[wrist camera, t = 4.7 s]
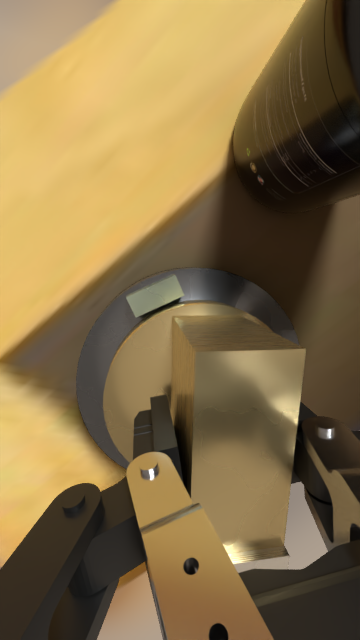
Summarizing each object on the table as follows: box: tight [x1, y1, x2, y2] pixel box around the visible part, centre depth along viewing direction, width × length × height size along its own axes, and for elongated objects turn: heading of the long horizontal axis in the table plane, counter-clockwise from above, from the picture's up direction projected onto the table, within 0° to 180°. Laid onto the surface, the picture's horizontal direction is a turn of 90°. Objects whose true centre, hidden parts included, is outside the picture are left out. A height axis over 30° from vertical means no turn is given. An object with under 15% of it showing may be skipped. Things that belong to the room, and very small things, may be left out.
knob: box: [103, 300, 306, 573], centre depth 11 cm, size 9×9×7 cm
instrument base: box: [76, 267, 299, 469], centre depth 15 cm, size 12×12×3 cm
